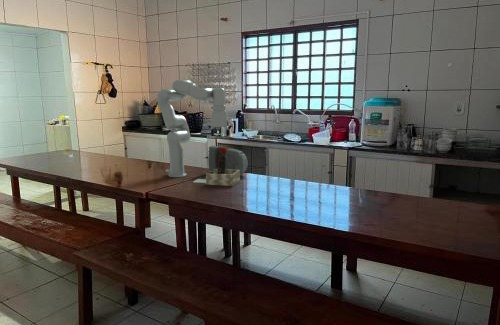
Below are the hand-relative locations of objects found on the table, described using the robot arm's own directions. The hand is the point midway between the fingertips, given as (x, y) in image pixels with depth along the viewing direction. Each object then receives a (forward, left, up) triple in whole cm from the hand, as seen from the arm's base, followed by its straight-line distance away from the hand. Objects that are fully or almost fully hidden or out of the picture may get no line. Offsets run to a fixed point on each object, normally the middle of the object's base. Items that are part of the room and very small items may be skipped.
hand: (220, 135), depth 226 cm
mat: (-14, 0, -30) cm, 33 cm away
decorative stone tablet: (-3, +23, -30) cm, 38 cm away
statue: (0, 0, -30) cm, 30 cm away
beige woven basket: (+1, 0, -30) cm, 30 cm away
